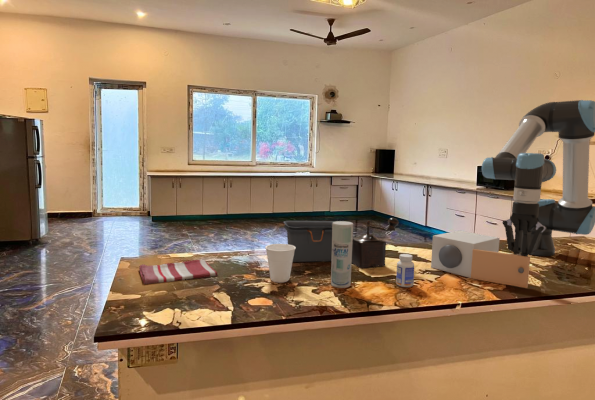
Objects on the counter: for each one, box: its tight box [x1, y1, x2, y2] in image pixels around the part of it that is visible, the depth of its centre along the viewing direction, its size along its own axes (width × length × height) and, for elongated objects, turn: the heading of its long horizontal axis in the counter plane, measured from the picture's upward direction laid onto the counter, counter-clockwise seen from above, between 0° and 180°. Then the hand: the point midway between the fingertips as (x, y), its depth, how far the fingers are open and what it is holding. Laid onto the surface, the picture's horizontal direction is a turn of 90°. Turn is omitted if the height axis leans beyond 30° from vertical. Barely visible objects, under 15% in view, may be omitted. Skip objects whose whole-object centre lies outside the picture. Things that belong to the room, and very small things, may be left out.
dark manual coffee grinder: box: [351, 217, 400, 269], centre depth 160 cm, size 16×11×18 cm
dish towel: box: [139, 259, 219, 285], centre depth 144 cm, size 17×23×3 cm
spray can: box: [330, 220, 354, 289], centre depth 134 cm, size 6×6×20 cm
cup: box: [264, 243, 296, 284], centre depth 138 cm, size 10×10×11 cm
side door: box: [470, 249, 531, 289], centre depth 139 cm, size 17×2×10 cm, turn 57°
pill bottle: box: [395, 253, 415, 288], centre depth 136 cm, size 5×5×10 cm
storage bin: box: [283, 220, 334, 263], centre depth 164 cm, size 21×16×14 cm
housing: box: [430, 230, 500, 279], centre depth 156 cm, size 20×16×12 cm
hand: (519, 273), depth 138 cm, fingers closed
